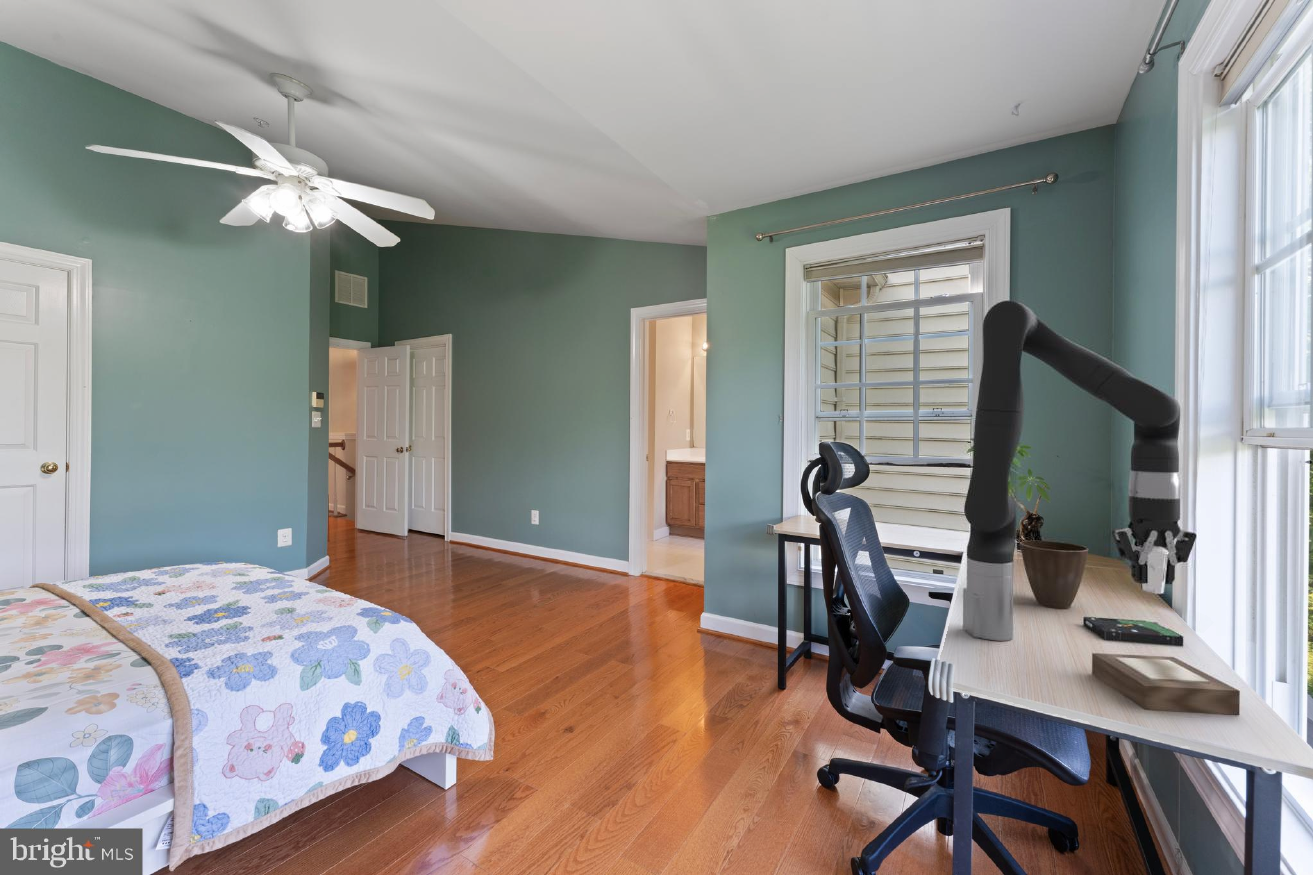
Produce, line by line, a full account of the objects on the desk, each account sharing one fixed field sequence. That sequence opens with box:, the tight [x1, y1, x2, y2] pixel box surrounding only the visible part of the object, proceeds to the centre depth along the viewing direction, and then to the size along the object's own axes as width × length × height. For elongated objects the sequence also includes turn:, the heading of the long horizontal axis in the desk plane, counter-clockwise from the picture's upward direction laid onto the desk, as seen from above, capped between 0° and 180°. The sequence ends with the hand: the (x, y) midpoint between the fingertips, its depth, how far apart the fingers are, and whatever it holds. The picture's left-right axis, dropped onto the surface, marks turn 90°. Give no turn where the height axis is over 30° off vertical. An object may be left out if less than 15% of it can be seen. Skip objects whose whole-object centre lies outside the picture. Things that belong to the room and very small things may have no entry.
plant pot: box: [1020, 540, 1089, 610], centre depth 151 cm, size 15×15×16 cm
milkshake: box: [1139, 546, 1169, 595], centre depth 109 cm, size 5×5×10 cm
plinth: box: [1091, 652, 1241, 716], centre depth 100 cm, size 14×14×4 cm
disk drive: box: [1082, 616, 1184, 647], centre depth 129 cm, size 10×3×15 cm
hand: (1152, 582), depth 109 cm, fingers closed on milkshake, 4 cm apart
